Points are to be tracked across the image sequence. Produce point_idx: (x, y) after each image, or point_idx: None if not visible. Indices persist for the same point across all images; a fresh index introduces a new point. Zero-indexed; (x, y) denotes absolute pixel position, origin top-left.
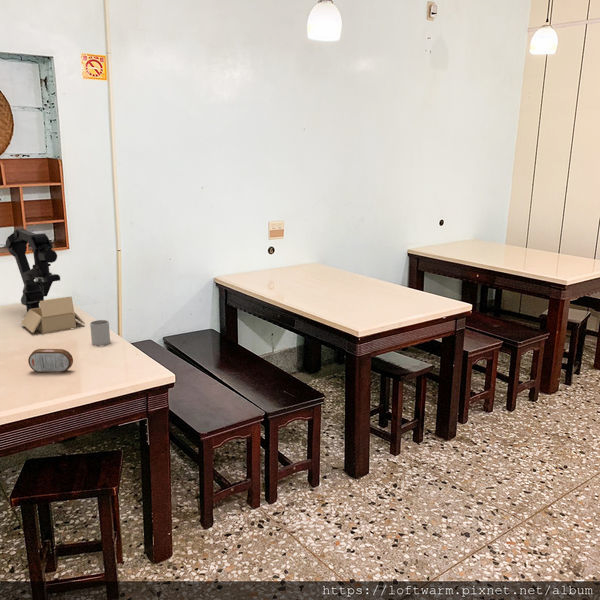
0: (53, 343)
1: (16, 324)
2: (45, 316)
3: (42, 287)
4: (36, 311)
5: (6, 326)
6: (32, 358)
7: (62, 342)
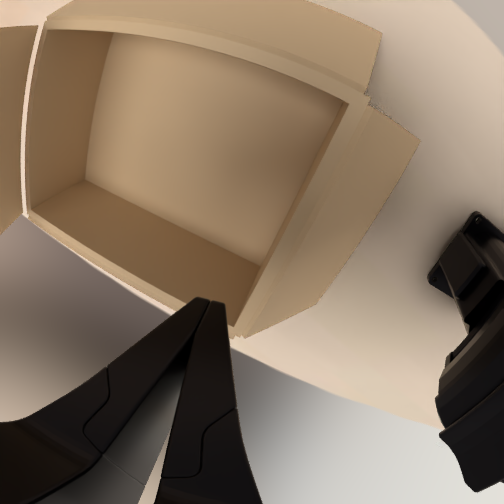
0: (22, 22)
1: (448, 66)
2: (26, 44)
3: (106, 414)
4: (326, 145)
5: (459, 13)
6: None
7: None
